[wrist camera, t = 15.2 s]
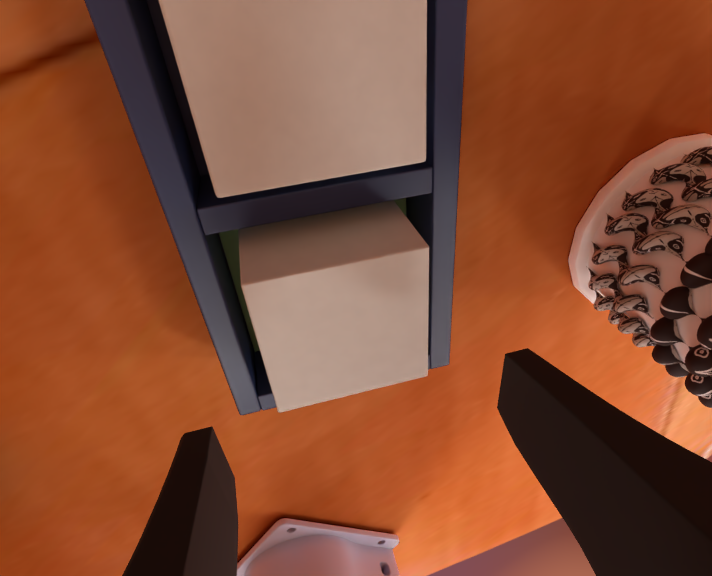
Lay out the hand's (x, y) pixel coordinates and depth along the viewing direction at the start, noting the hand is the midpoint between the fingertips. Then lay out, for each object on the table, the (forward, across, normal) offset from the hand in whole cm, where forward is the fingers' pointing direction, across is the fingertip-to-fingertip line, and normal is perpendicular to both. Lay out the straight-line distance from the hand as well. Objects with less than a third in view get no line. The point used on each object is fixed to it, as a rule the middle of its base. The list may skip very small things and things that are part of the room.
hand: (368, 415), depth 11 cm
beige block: (+7, 0, -8) cm, 10 cm away
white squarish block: (+7, 0, 0) cm, 7 cm away
